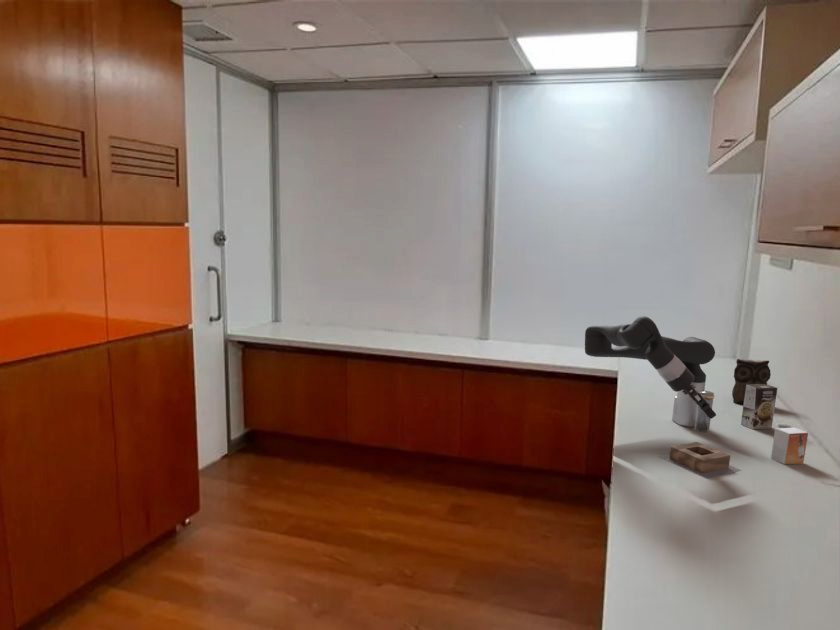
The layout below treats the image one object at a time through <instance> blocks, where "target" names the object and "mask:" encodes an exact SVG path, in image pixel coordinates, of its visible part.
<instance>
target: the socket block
mask: <svg viewBox="0 0 840 630" xmlns="http://www.w3.org/2000/svg"><path fill="white" fill-rule="evenodd" d="M669 454H670V458H669V459H671V460H674V461H676V462H678V463H680V464H683V465H685V466H687V467H689V468H691V469H694V470H696V471H698V472H700V473H706V472H711V471H715V470H720V469H724V468H729V465H730V459H731V454H728V453H726V452H723V451H722V450H718V449H716V448H713V447H711V446H708V445H706V444H705V443H704V444H703V443H701V442H698V441H694V442H688V443H683V444H678V445H672V446H670V452H669Z"/></svg>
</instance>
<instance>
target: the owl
mask: <svg viewBox="0 0 840 630" xmlns="http://www.w3.org/2000/svg"><path fill="white" fill-rule="evenodd" d="M735 361H736V362H735V363H736V366H735V368H734V370H733V378H734V386H733V388H732V391H731V392H732V393H731V395H732V399H733V404H736V405H741V406H743V405H744V398H745V391H746V384H766V385H768V383H767V382H768V381H769V380H770V379H771V369H770V366H769V363H770V360H761V359H740V358H737V359H736V360H735Z"/></svg>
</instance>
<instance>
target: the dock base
mask: <svg viewBox="0 0 840 630" xmlns="http://www.w3.org/2000/svg"><path fill="white" fill-rule="evenodd" d="M657 457H659V458H660V459H662V460H664V461H667V462H670V463H671V464H673V465H675V466H678V467H681V468H682V469H685V470H686V471H689V472H691V473H693V474H696V475H698V476H700V477H702V478H705V479H711V478H716V477H719V476H723V475H727V474H733V473H737V472H742V469H741V468H740V469H739V468H737V467H735V466H732V465H730V464H729V468H724V469H720V470H715V471H711V472H706V473H700V472H698V471H696V470H694V469H691V468H689V467H687V466H685V465H683V464H680V463H678V462H676V461H674V460H671V459H669V458H670V453H667V454H661V455H657Z"/></svg>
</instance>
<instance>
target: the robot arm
mask: <svg viewBox="0 0 840 630" xmlns="http://www.w3.org/2000/svg"><path fill="white" fill-rule="evenodd" d="M612 345H613V346H615V347H612ZM584 353H585V355H587V356H590V357H592V358H593V357H594V358H628V359H636V360H637V359H638V360H647V361H648V362H649V363H650V365H651V366H652V367H653V368H654V369H655V370H656V372H657V373H658V375H659V376H660V377H661V378H662V379H663V381H664V382H665V383H666V384H667V385H668V386H669V387H670V389H671V390H672V391H674V392H677V393H676V396H674V400H673V410H672V416H671V420H672V421H673V422H674V423H676V424H677V425H679V426H684V427H689V428H695V423H696V416H697V408H698V406H699V407H700V409H701V410H703V411H704V412H705V413H706V415H707V416H708V417H709V418H710V419H712V420H713V418H715V417H716V416H717V413H716V412H715V411H714V410H713V408H712V409H711V408H710V405H709V403H707V402H706V401H705V398H704V396H703V395H702V394H701V393H700V391H706V389H705V387H706V382H707V381H706V380H707V374H706V373H705V372H704V370H702V368H701V366H700V365H705V364H706V365H707V364H708V363H710V362H711V361H712V360H713V359H714V357H715V355H716V349H715V347H714V345H713V344H712V343H710V342H709V341H707V340H705V339H701V338H697V337H695V336H688V337H685V338H684V339H683V340H677V339H675V338H670V337H667V336H663V335H661V333H660V331H659V328H658V326H657V324H656V323H655V321H654V320H653V319H651V318H650V317H649V316H645V315H640V316H638V317H637V318H635V320H634V321H633V322H632V323H624V324H619V325H609V324H607V325H606V324H605V325H604V324H603V325H601V324H600V325H599V324H598V325H590V326H588V327H587V328H586V329H585V333H584ZM703 403H705V404H703ZM702 404H703V405H702ZM701 405H702V406H701Z"/></svg>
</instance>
